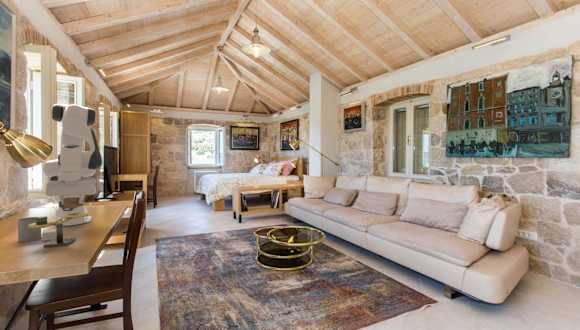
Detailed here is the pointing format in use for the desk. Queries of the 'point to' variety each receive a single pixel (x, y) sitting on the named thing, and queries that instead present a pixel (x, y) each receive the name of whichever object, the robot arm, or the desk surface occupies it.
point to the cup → (28, 230)
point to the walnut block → (71, 202)
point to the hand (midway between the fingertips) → (72, 204)
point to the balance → (57, 229)
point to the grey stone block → (49, 235)
